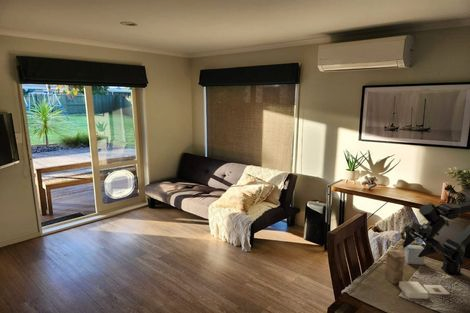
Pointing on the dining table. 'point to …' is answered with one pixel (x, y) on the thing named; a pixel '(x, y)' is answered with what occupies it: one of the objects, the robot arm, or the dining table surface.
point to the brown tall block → (394, 267)
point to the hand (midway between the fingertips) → (410, 251)
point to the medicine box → (413, 254)
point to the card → (435, 289)
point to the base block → (413, 289)
